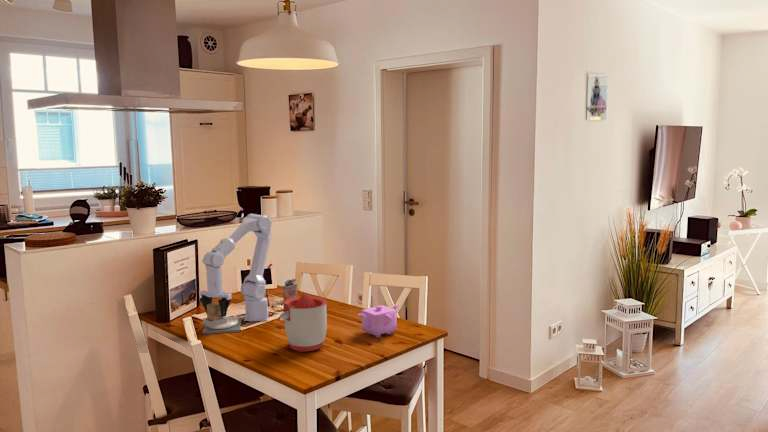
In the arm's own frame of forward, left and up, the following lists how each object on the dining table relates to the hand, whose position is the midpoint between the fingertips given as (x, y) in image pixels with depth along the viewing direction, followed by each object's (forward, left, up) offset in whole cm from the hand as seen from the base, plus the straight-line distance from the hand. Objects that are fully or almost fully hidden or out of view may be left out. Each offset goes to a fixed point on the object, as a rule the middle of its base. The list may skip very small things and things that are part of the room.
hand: (216, 315), depth 238 cm
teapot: (-63, +16, -6) cm, 65 cm away
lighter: (-29, -37, -6) cm, 47 cm away
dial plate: (-2, -3, -6) cm, 7 cm away
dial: (-2, -3, -5) cm, 6 cm away
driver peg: (+1, 0, -3) cm, 4 cm away
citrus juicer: (-34, +26, -6) cm, 43 cm away
